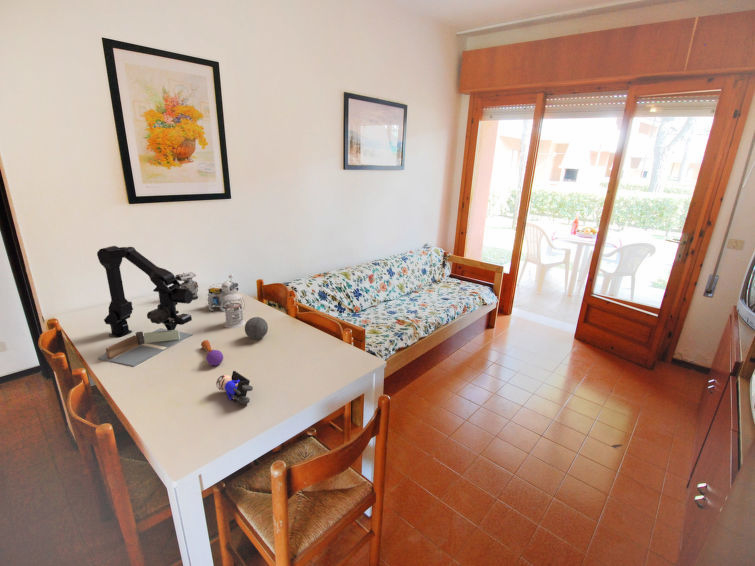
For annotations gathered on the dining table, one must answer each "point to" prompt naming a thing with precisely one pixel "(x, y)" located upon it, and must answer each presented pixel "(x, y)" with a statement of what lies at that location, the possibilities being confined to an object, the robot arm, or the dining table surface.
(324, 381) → the dining table surface
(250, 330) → the decorative ball
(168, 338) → the swing panel
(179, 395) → the dining table surface
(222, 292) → the robotic toy
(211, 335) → the dining table surface
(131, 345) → the brown wooden bar
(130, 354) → the card
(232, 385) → the character figurine
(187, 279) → the figurine
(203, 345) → the kendama
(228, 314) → the french press
